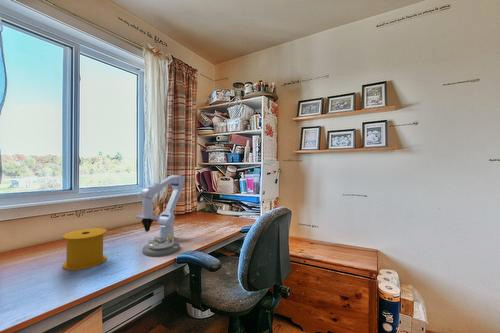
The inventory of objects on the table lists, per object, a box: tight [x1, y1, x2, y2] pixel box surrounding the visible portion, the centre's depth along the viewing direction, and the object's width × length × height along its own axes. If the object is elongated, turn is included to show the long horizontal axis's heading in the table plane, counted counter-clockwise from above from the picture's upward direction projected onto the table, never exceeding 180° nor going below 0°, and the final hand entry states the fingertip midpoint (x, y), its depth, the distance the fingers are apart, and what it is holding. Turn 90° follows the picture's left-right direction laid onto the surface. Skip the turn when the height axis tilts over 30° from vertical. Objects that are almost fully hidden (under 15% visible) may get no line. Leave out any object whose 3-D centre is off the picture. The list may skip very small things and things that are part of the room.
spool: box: [61, 227, 108, 271], centre depth 116 cm, size 18×18×15 cm
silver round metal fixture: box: [147, 233, 175, 250], centre depth 134 cm, size 14×14×8 cm
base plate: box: [141, 241, 180, 258], centre depth 134 cm, size 20×20×2 cm
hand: (147, 231), depth 139 cm, fingers closed
